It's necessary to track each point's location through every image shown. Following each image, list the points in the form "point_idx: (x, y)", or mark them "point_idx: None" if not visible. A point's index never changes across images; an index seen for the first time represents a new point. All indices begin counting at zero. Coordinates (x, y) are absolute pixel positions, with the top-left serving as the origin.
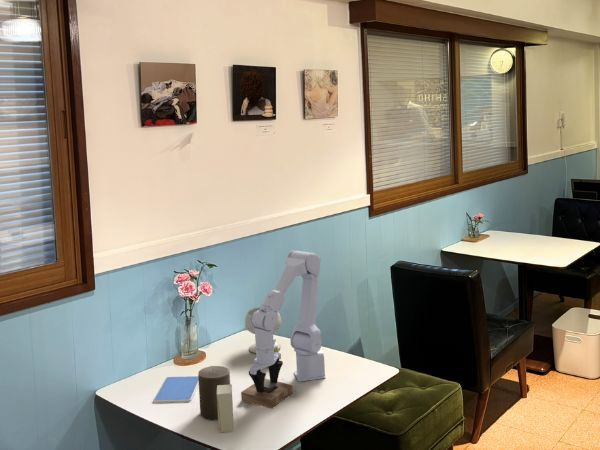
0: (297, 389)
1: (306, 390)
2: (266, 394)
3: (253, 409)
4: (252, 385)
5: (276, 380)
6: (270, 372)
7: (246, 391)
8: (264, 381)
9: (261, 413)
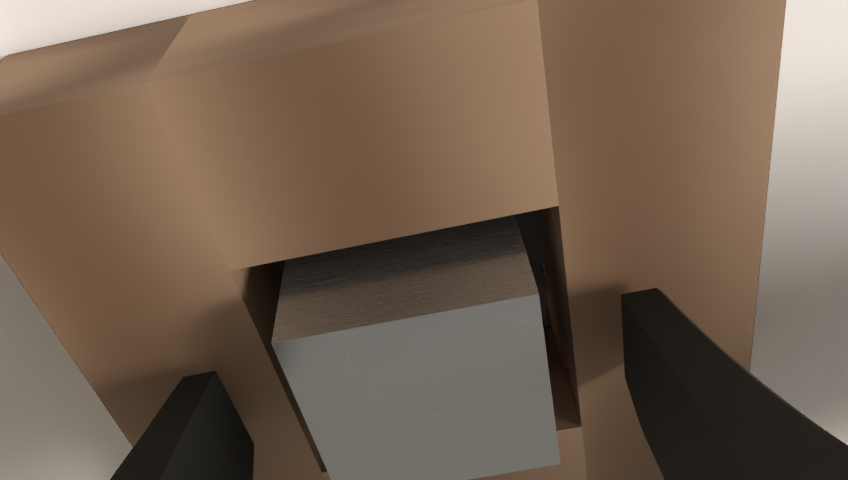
0: (821, 355)
1: (834, 428)
2: (269, 470)
3: (46, 363)
4: (322, 67)
5: (647, 439)
6: (715, 460)
7: (43, 195)
8: (491, 322)
9: (82, 469)
